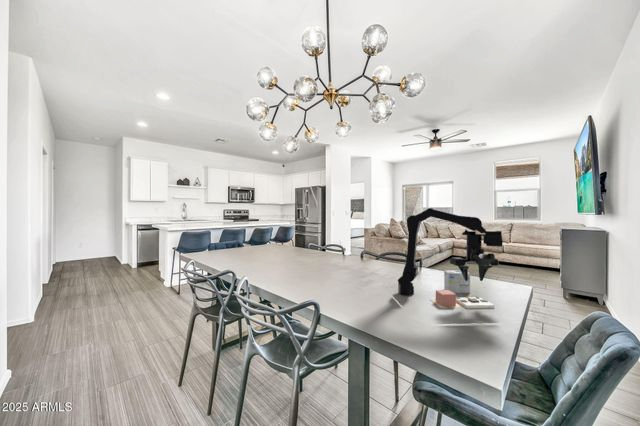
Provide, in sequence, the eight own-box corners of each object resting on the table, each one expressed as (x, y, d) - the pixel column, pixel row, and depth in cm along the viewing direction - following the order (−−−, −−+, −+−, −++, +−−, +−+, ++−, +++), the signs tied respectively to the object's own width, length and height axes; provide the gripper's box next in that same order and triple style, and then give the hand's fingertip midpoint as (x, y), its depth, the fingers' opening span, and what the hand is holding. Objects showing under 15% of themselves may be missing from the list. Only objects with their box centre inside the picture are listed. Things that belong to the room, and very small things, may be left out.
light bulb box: (464, 290, 140) (464, 270, 140) (470, 294, 133) (470, 273, 133) (443, 290, 141) (443, 269, 141) (448, 294, 134) (448, 272, 134)
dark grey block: (472, 306, 116) (472, 300, 116) (468, 303, 119) (468, 298, 119) (478, 306, 116) (479, 300, 116) (474, 303, 119) (474, 298, 119)
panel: (466, 310, 113) (466, 304, 113) (454, 301, 123) (454, 296, 123) (494, 309, 113) (494, 304, 113) (479, 301, 123) (479, 296, 123)
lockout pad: (439, 309, 113) (439, 307, 113) (429, 301, 123) (429, 299, 123) (463, 309, 114) (463, 307, 114) (450, 301, 124) (450, 299, 124)
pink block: (442, 305, 115) (442, 294, 115) (435, 301, 121) (435, 290, 121) (455, 305, 116) (455, 294, 115) (448, 301, 122) (448, 290, 121)
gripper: (463, 248, 109) (463, 286, 109) (508, 248, 110) (507, 285, 110) (449, 244, 120) (449, 279, 120) (490, 244, 121) (489, 278, 121)
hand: (473, 280), depth 118 cm, fingers open, 6 cm apart
